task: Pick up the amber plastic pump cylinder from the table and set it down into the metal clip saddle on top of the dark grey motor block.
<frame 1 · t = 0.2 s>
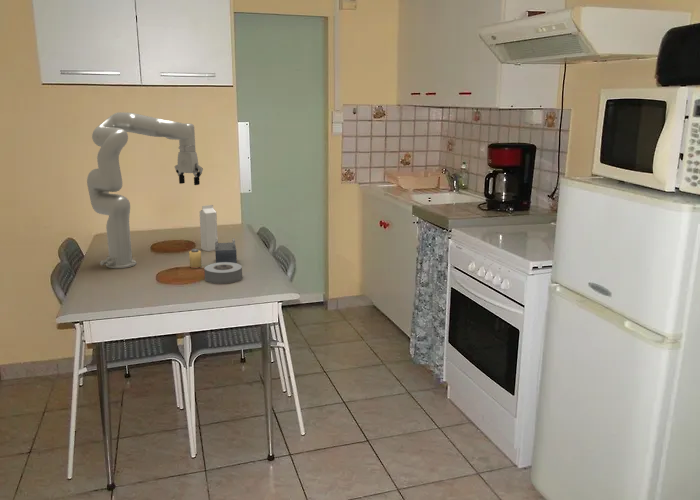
hand: (189, 184, 297), 31 cm above the table, tool pointing down, fingers open, 9 cm apart
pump: (195, 266, 266), on the table
milk: (209, 249, 296), on the table
tape roll: (223, 279, 250), on the table
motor: (226, 263, 271), on the table
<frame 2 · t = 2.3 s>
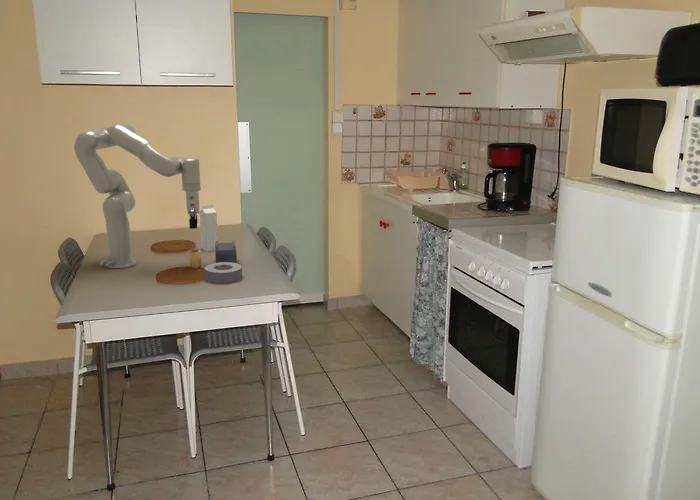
hand: (193, 226, 261), 18 cm above the table, tool pointing down, fingers open, 9 cm apart
nothing on the table moved.
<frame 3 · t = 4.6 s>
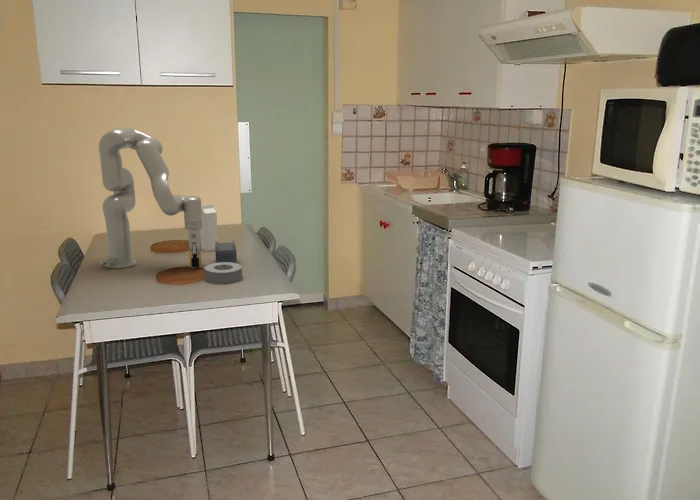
hand: (195, 264, 265), 1 cm above the table, tool pointing down, fingers closed on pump, 5 cm apart
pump: (195, 266, 266), on the table, touching gripper
everything else where it was.
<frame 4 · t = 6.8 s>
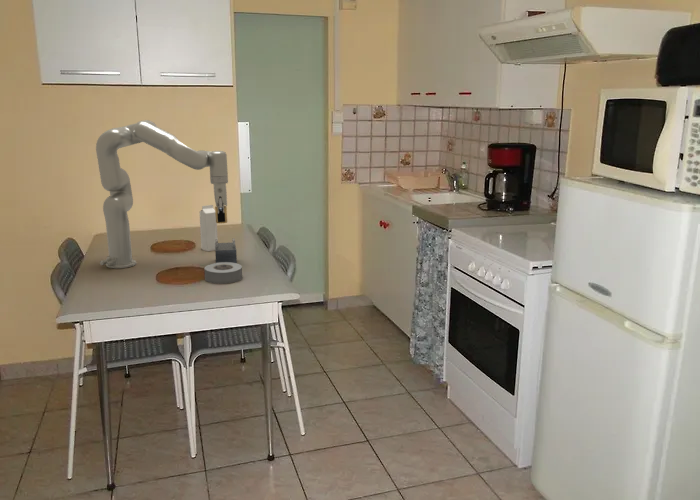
hand: (221, 220, 266), 20 cm above the table, tool pointing down, fingers closed on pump, 5 cm apart
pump: (221, 222, 266), point 19 cm above the table, touching gripper
everything else where it was.
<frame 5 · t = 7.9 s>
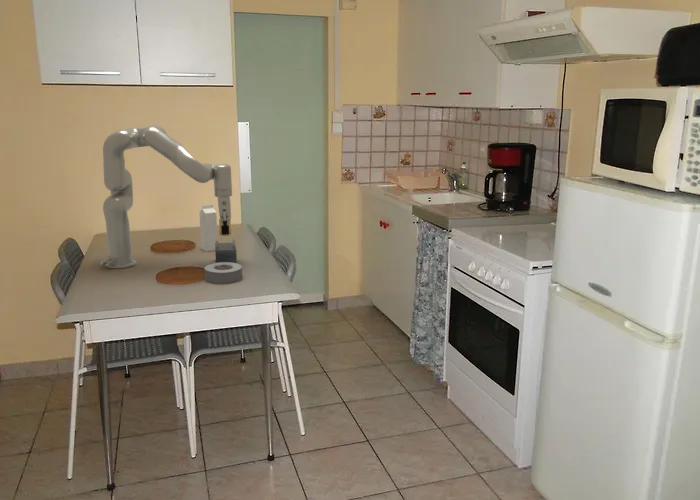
hand: (225, 232, 268), 14 cm above the table, tool pointing down, fingers closed on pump, 5 cm apart
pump: (225, 234, 268), point 13 cm above the table, touching gripper
everything else where it was.
when the fingers open (11 cm above the table, at t = 8.9 s): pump drops 2 cm, resting on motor.
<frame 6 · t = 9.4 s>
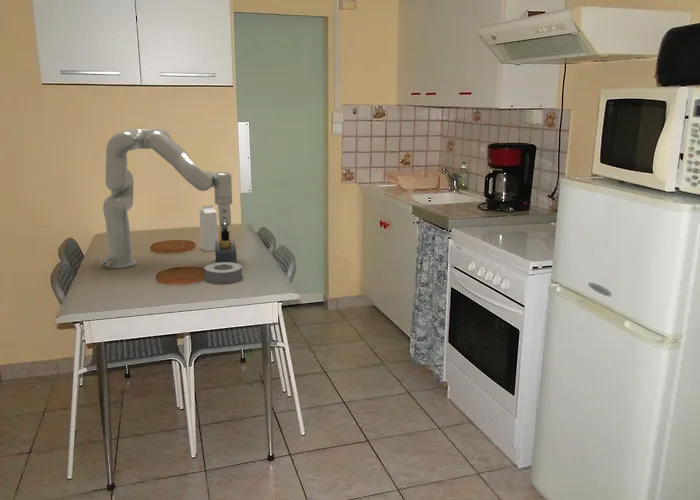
hand: (225, 238, 268), 12 cm above the table, tool pointing down, fingers open, 9 cm apart
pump: (225, 246, 269), point 8 cm above the table, touching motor
everything else where it was.
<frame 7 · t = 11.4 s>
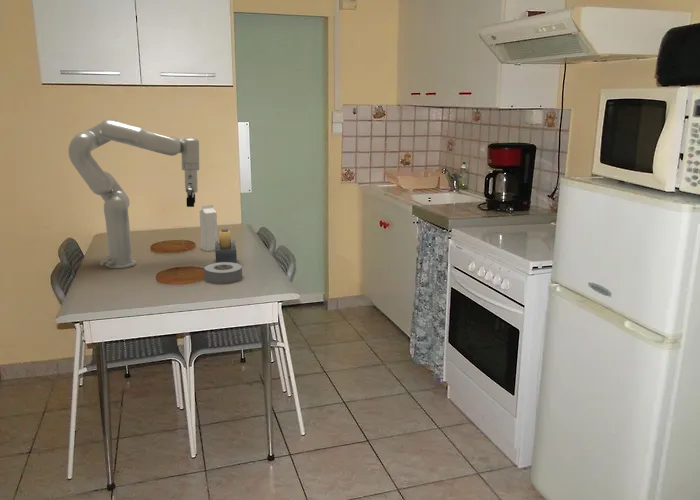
hand: (191, 204, 268), 26 cm above the table, tool pointing down, fingers open, 9 cm apart
nothing on the table moved.
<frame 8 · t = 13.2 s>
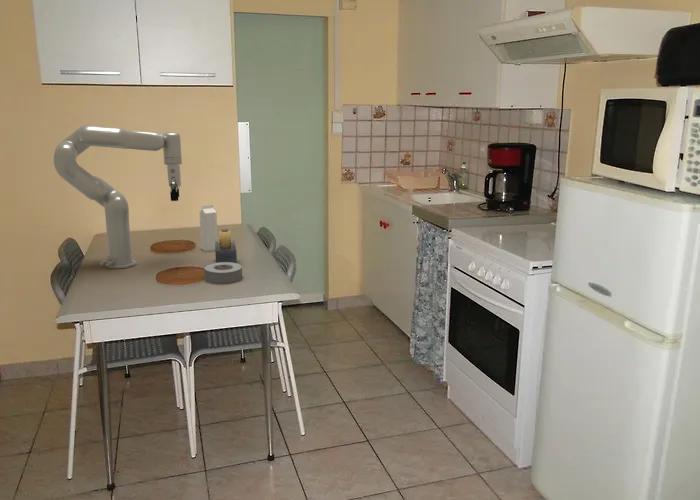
hand: (175, 199, 270), 28 cm above the table, tool pointing down, fingers open, 9 cm apart
nothing on the table moved.
at the end: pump 0.0 cm off-centre on the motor, point 8.0 cm above the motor's base; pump tilted 0°; the gripper is holding nothing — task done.
